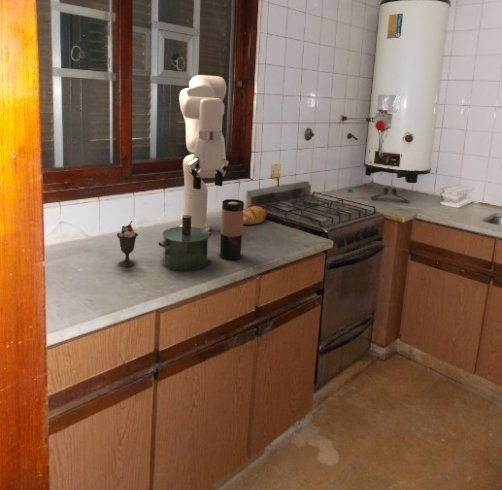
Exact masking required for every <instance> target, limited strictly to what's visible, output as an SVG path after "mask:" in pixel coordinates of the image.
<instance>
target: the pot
mask: <svg viewBox="0 0 502 490" xmlns="http://www.w3.org/2000/svg"><path fill="white" fill-rule="evenodd" d="M208 232H209V233H210V237H211V236H212V232H210V231H208ZM162 240H163V241H159V242H158V247H161V248H162V263H163V265H164V266H165V267H166V268H168V269H170V270H174V271H179V272H191V271H196V270H200V269H203V268H205V267H206V266H207V264H208V257H209V256H208V254H209V238H208V239H207V240H205V241H202V242H198V243H176V242H171V241H168V240H166V239H165V238H163V239H162Z"/></svg>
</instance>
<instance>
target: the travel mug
mask: <svg viewBox="0 0 502 490" xmlns="http://www.w3.org/2000/svg"><path fill="white" fill-rule="evenodd" d="M221 204H222V205H221V220H220V246H219V247H220V249H219V251H220V253H219V255H220V258H222V259H223V260H228V261H236V260H238V259H240V257H241V251H242V242H243V231H244V229H243V228H244V224H243V215H244V212H245V210H244V208H245V202H244V200H240V199H235V198H233V199H232V198H229V199H228V198H227V199H224V200H222V201H221Z"/></svg>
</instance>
